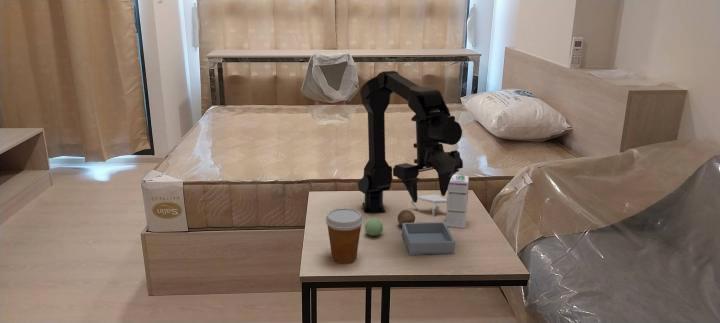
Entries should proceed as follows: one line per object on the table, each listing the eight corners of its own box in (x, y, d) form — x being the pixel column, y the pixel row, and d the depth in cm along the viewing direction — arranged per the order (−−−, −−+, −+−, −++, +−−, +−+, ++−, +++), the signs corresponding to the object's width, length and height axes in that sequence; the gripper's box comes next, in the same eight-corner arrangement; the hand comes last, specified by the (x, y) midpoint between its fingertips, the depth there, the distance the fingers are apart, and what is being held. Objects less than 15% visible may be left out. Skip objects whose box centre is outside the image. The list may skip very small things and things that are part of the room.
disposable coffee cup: (335, 270, 131) (335, 226, 127) (319, 253, 139) (319, 211, 135) (369, 261, 135) (370, 218, 131) (352, 245, 143) (352, 204, 139)
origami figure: (448, 206, 169) (449, 192, 167) (450, 218, 161) (451, 203, 159) (410, 205, 169) (410, 191, 168) (410, 216, 162) (411, 201, 160)
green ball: (363, 231, 152) (364, 215, 150) (381, 230, 152) (381, 214, 150) (365, 239, 147) (365, 223, 145) (383, 239, 147) (384, 222, 146)
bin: (401, 234, 150) (402, 222, 149) (443, 233, 151) (444, 221, 150) (409, 255, 139) (410, 243, 138) (454, 253, 140) (455, 241, 139)
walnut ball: (396, 222, 157) (396, 207, 155) (412, 222, 158) (413, 206, 156) (398, 230, 152) (399, 214, 151) (416, 229, 153) (416, 213, 151)
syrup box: (465, 228, 154) (469, 181, 149) (444, 226, 155) (448, 180, 150) (465, 220, 159) (469, 174, 155) (445, 218, 160) (449, 173, 156)
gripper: (417, 149, 124) (419, 213, 127) (477, 138, 133) (478, 198, 136) (390, 143, 133) (393, 203, 137) (448, 133, 142) (449, 190, 146)
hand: (429, 198), depth 139 cm, fingers open, 9 cm apart
